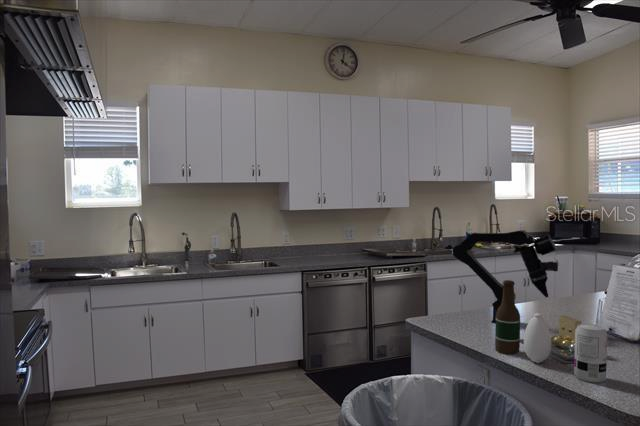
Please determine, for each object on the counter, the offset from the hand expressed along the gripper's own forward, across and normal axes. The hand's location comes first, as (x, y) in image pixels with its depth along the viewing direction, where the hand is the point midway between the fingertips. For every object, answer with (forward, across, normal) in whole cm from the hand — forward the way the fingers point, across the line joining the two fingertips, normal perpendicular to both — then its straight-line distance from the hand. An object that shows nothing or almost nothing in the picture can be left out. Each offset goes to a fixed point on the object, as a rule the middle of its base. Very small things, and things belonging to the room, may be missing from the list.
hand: (547, 297), depth 198 cm
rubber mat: (+19, -22, +4) cm, 30 cm away
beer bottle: (+15, -31, +19) cm, 39 cm away
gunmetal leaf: (+22, -29, +1) cm, 36 cm away
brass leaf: (+19, -21, +1) cm, 28 cm away
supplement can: (+28, -47, -1) cm, 54 cm away
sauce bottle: (+20, -38, +11) cm, 45 cm away
